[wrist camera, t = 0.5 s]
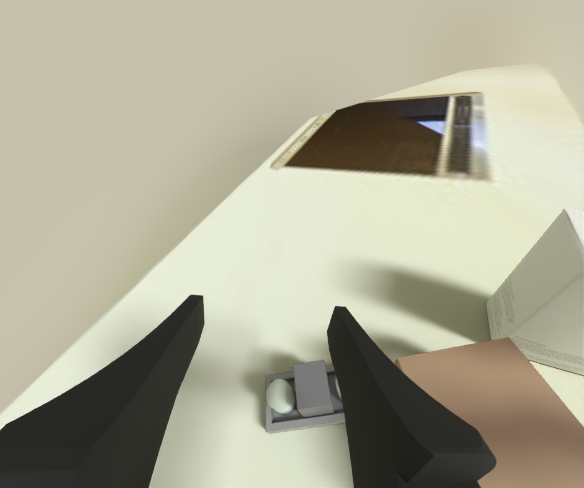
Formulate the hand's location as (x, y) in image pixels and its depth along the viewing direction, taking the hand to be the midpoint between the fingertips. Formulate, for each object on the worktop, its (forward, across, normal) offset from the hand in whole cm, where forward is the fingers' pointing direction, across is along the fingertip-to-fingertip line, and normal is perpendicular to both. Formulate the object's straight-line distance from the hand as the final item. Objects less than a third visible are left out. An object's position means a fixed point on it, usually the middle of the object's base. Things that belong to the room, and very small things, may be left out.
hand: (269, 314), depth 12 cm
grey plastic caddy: (+5, -7, +17) cm, 19 cm away
